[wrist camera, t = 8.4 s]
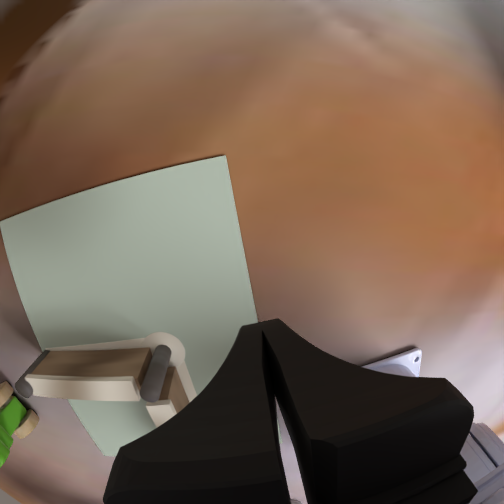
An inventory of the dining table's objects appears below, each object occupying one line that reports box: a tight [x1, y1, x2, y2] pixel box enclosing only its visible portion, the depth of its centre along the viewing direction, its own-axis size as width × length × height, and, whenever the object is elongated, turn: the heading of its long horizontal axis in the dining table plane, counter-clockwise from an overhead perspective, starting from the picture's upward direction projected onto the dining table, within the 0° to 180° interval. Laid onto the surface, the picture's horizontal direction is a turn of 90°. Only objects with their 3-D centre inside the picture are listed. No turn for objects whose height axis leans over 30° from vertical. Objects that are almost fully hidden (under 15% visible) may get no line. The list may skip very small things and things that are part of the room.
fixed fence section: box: [139, 345, 190, 427], centre depth 19 cm, size 12×2×5 cm, turn 10°
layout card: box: [0, 155, 282, 456], centre depth 20 cm, size 24×18×1 cm
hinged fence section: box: [15, 347, 152, 401], centre depth 18 cm, size 10×2×5 cm, turn 97°
